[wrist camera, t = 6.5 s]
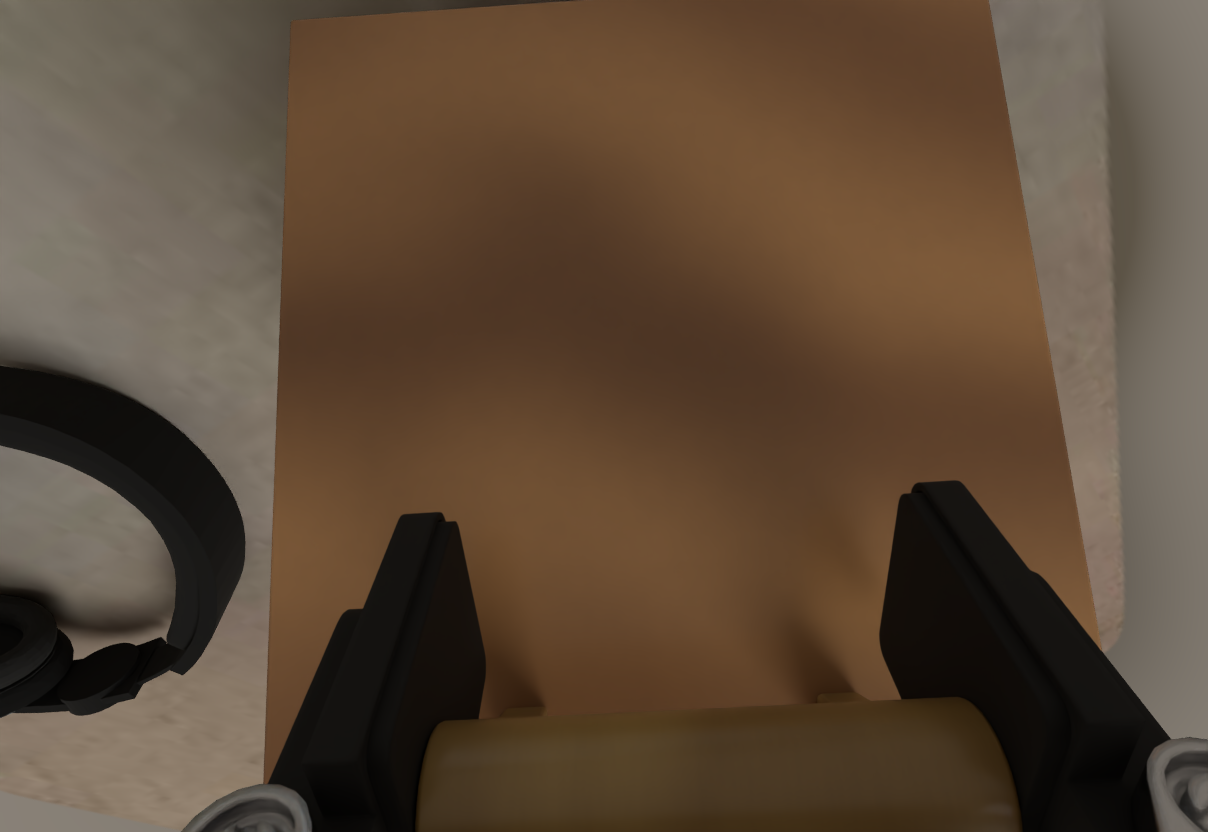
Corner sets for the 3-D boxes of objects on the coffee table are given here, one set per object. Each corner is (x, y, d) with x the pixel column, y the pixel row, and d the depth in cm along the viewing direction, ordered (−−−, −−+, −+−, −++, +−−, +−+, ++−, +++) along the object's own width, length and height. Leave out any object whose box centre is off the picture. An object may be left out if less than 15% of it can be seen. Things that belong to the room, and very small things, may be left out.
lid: (1103, 821, 12) (1482, 1031, 7) (281, 856, 12) (17, 1084, 7) (966, 0, 15) (1152, -307, 10) (306, 46, 15) (134, -227, 10)
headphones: (-456, 550, 28) (5, 355, 27) (-263, 449, 35) (109, 290, 33) (-87, 814, 36) (278, 674, 35) (9, 689, 43) (316, 569, 42)
